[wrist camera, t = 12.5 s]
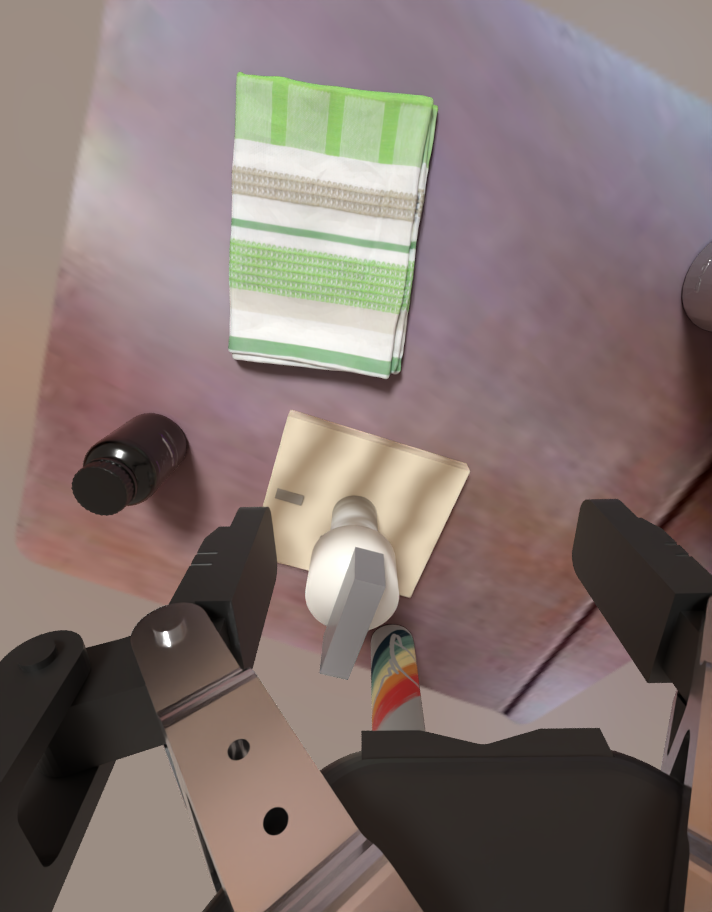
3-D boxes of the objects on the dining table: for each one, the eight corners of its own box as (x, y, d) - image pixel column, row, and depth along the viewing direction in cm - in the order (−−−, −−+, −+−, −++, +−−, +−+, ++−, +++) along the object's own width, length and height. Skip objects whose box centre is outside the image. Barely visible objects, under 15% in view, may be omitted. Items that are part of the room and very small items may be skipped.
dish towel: (230, 356, 47) (221, 363, 44) (233, 75, 38) (221, 59, 34) (397, 376, 48) (400, 385, 44) (440, 105, 38) (447, 92, 35)
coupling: (326, 506, 41) (317, 569, 33) (410, 528, 42) (421, 595, 34) (299, 590, 45) (286, 666, 37) (377, 609, 46) (380, 687, 38)
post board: (466, 463, 51) (488, 510, 42) (408, 586, 58) (417, 649, 49) (290, 409, 49) (274, 446, 39) (253, 544, 56) (231, 602, 47)
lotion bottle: (413, 622, 60) (434, 784, 42) (413, 654, 63) (434, 821, 44) (369, 624, 61) (372, 785, 42) (371, 655, 63) (375, 822, 45)
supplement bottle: (201, 440, 50) (156, 493, 39) (165, 480, 52) (112, 541, 41) (148, 397, 48) (85, 440, 37) (113, 440, 50) (43, 493, 39)
